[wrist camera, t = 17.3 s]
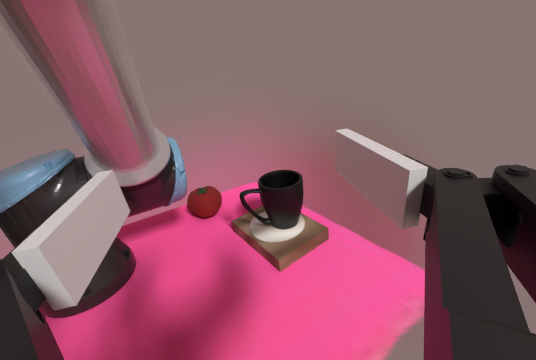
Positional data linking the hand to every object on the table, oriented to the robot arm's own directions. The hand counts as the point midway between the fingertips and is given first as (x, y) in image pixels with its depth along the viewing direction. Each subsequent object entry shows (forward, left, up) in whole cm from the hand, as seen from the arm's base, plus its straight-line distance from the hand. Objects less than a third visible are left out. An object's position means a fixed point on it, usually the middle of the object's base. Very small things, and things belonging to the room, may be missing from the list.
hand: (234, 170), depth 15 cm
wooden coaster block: (-9, +26, -27) cm, 38 cm away
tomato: (-29, +31, -27) cm, 50 cm away
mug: (-9, +26, -24) cm, 36 cm away
